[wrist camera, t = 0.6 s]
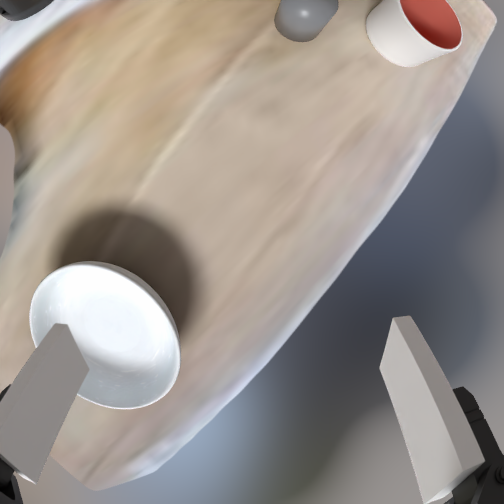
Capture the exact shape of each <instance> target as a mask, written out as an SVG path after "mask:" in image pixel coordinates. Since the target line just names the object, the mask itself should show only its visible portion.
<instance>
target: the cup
mask: <svg viewBox="0 0 504 504" xmlns="http://www.w3.org/2000/svg"><path fill="white" fill-rule="evenodd" d="M366 30H367V35H368V37H369V40H370V41H371V43H372V45H373V46H374V48H375V49H376V50H377V51H378V52H379V53H380V54H381V55H382V56H383V57H384V58H385V59H387V60H388V61H390V62H392V63H394V64H396V65H399V66H403V67H414V66H417V65H419V64H422V63H424V62H427V61H429V60H432V59H434V58H437V57H439V56H442V55H444V54H447V53H449V52H452V51H455V50H456V49H458V48H459V47H460V45H461V43H462V39H463V32H462V27H461V23H460V21H459V18H458V16H457V14H456V13H455V11H454V10H453V8H452V7H451V5H450V4H449V3H448V2H447V1H446V0H383V1H382V2H381V3H380V4H379V5H377V6H376V7H375V8H374V9H373V10H372V11H371V12H370V13H369V15H368V17H367V20H366Z"/></svg>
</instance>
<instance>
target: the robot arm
mask: <svg viewBox="0 0 504 504" xmlns="http://www.w3.org/2000/svg"><path fill="white" fill-rule="evenodd" d="M52 1H53V0H0V15H2V16H3V17H5V18H7V19H8V20H11V21H18V20H22V19H25V18H28V17H30V16H32V15H34V14H36V13H37V12H39V11H40V10H42V9H43V8H45V7H46V6H47V5H49V4H50V3H51V2H52ZM89 370H90V369H89V367H88V366H87V364H86V362H85V360H84V358H83V356H82V354H81V352H80V350H79V348H78V346H77V344H76V342H75V339H74V337H73V335H72V333H71V331H70V329H69V326H68V324H59V323H55V324H54V325H53V326H52V328H51V329H50V330H49V332H48V333H47V334H46V336H45V337H44V338H43V340H42V341H41V342H40V344H39V345H38V347H37V348H36V349H35V351H34V352H33V354H32V355H31V356H30V358H29V359H28V361H27V362H26V364H25V365H24V366H23V368H22V369H21V371H20V372H19V374H18V375H17V377H16V378H15V380H14V381H13V383H12V384H10V385H9V386H8V387H6V388H5V389H4V390H3V391H2V392H1V394H0V504H23V501H22V498H21V494H20V491H19V486H18V482H17V479H16V477H15V476H14V475H13V472H14V471H16V472H17V473H18V474H19V475H20V476H22V477H23V478H25V479H27V480H29V481H31V482H33V483H35V484H37V482H38V480H39V477H40V474H41V472H42V470H43V467H44V465H45V462H46V460H47V457H48V455H49V453H50V451H51V448H52V446H53V444H54V442H55V439H56V437H57V435H58V433H59V431H60V428H61V426H62V424H63V422H64V420H65V418H66V416H67V414H68V411H69V409H70V407H71V405H72V403H73V401H74V399H75V397H76V395H77V393H78V391H79V389H80V387H81V385H82V383H83V381H84V379H85V378H86V376H87V374H88V372H89ZM380 371H381V374H382V376H383V379H384V381H385V384H386V387H387V390H388V392H389V395H390V398H391V401H392V403H393V406H394V409H395V412H396V415H397V418H398V421H399V424H400V427H401V430H402V433H403V436H404V439H405V442H406V445H407V448H408V452H409V455H410V458H411V461H412V465H413V468H414V471H415V475H416V478H417V482H418V486H419V489H420V492H421V497H422V500H423V504H427V503H430V502H433V501H435V500H438V499H441V498H443V497H445V496H446V495H447V494H448V493H450V492H451V491H452V494H453V497H452V498H451V499H450V500H448V501H447V502H445V503H444V504H504V455H503V454H502V452H501V451H500V449H499V447H498V445H497V442H496V440H495V438H494V436H493V434H492V432H491V430H490V427H489V426H488V423H487V421H486V419H484V415H483V413H482V412H481V410H479V406H478V404H477V402H476V400H475V398H474V396H473V395H472V394H471V393H470V392H469V391H467V390H466V389H465V388H464V387H459V388H456V389H453V390H452V388H451V386H450V385H449V383H448V381H447V379H446V377H445V375H444V373H443V372H442V370H441V368H440V366H439V364H438V362H437V360H436V359H435V357H434V355H433V353H432V352H431V350H430V348H429V346H428V345H427V343H426V341H425V339H424V338H423V336H422V334H421V333H420V331H419V329H418V328H417V326H416V324H415V323H414V321H413V319H412V318H411V316H404V317H396V318H393V320H392V324H391V328H390V332H389V335H388V340H387V343H386V347H385V350H384V354H383V357H382V361H381V364H380Z"/></svg>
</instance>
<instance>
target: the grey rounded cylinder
mask: <svg viewBox="0 0 504 504" xmlns="http://www.w3.org/2000/svg"><path fill="white" fill-rule="evenodd" d="M337 10H338V0H281V2H280V5H279V8H278V10H277V13H276V15H275V19H274V22H275V26H276V28H277V30H278V31H279V32H280V33H281V34H282V35H283V36H284V37H286V38H288V39H290V40H292V41H296V42H307V41H310V40H312V39H314V38H315V37H316V36H317V35H318V34H319V33H320V32H321V30H322V29H323V28H324V27H325V25H326V24H327V23H328V22H329V20H330V19H331V18H332V17H333V16H334V14H335V13H336V12H337Z"/></svg>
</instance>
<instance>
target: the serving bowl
mask: <svg viewBox="0 0 504 504" xmlns="http://www.w3.org/2000/svg"><path fill="white" fill-rule="evenodd" d="M55 323H59V324H68V326H69V329H70V331H71V333H72V335H73V337H74V339H75V342H76V344H77V346H78V348H79V350H80V352H81V354H82V356H83V358H84V360H85V362H86V364H87V366H88V367H89V369H90V370H89V372H88V374H87V376H86V378H85V379H84V381H83V383H82V385H81V387H80V389H79V391H78V393H77V395H78V396H80V397H82V398H84V399H86V400H88V401H90V402H92V403H95V404H98V405H101V406H104V407H109V408H115V409H135V408H140V407H144V406H147V405H150V404H152V403H154V402H156V401H158V400H159V399H161V398H162V397H163V396H165V395H166V394H167V393H168V392H169V390H170V389H171V388H172V386H173V385H174V383H175V381H176V379H177V377H178V374H179V370H180V365H181V347H180V339H179V334H178V330H177V327H176V324H175V321H174V319H173V317H172V315H171V313H170V311H169V309H168V308H167V306H166V304H165V303H164V302H163V300H162V299H161V298H160V296H159V295H158V294H157V293H156V292H155V291H154V290H153V288H152V287H150V286H149V285H148V284H147V283H146V282H145V281H143V280H142V279H141V278H140V277H138V276H136V275H135V274H133V273H132V272H130V271H128V270H126V269H124V268H121V267H119V266H116V265H113V264H109V263H104V262H97V261H83V262H76V263H72V264H69V265H66V266H63V267H60V268H58V269H56V270H54V271H53V272H51V273H50V274H49V275H47V276H46V277H45V278H44V279H43V280H42V281H41V283H40V284H39V285H38V287H37V289H36V290H35V292H34V295H33V297H32V301H31V305H30V329H31V334H32V337H33V341H34V344H35V346H36V348H37V347H38V345H39V344H40V342H41V341H42V340H43V338H44V337H45V336H46V334H47V333H48V332H49V330H50V329H51V328H52V326H53V325H54V324H55Z"/></svg>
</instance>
